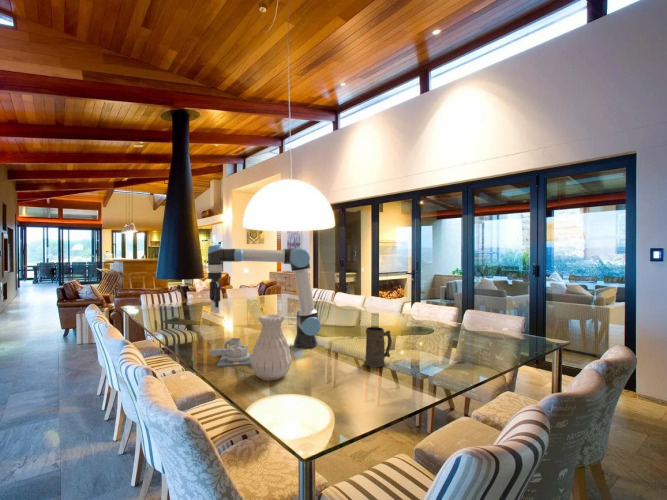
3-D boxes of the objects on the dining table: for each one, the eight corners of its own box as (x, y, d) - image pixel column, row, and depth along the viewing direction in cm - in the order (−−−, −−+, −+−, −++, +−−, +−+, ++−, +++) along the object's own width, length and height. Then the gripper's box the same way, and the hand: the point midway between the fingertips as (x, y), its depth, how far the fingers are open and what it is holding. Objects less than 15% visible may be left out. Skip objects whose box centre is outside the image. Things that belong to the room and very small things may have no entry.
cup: (239, 356, 212) (239, 341, 212) (222, 356, 212) (222, 340, 212) (242, 352, 219) (242, 337, 219) (226, 352, 219) (226, 337, 219)
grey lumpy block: (248, 350, 209) (248, 344, 209) (246, 356, 198) (246, 349, 198) (212, 352, 206) (212, 345, 206) (208, 357, 195) (208, 350, 195)
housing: (257, 355, 213) (257, 342, 213) (254, 365, 195) (254, 351, 195) (222, 356, 210) (222, 344, 210) (216, 366, 192) (216, 352, 192)
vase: (273, 387, 164) (273, 322, 164) (242, 379, 175) (242, 317, 174) (299, 374, 181) (299, 315, 181) (270, 367, 192) (270, 311, 191)
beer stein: (370, 368, 190) (373, 330, 191) (360, 362, 200) (362, 326, 200) (394, 366, 197) (396, 329, 198) (382, 360, 207) (385, 325, 207)
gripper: (204, 271, 213) (204, 310, 213) (212, 273, 198) (212, 315, 198) (216, 271, 217) (216, 309, 217) (226, 272, 202) (226, 313, 202)
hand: (214, 312), depth 207 cm, fingers open, 5 cm apart
